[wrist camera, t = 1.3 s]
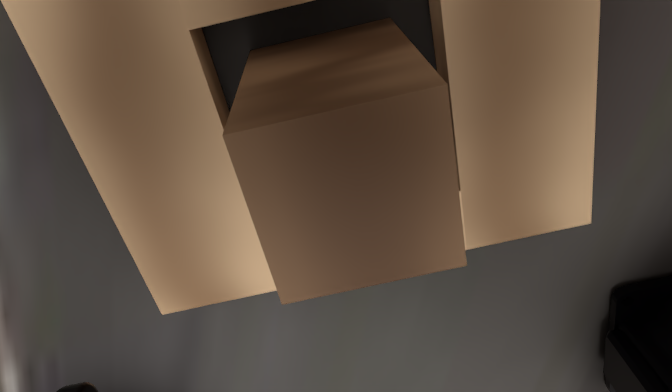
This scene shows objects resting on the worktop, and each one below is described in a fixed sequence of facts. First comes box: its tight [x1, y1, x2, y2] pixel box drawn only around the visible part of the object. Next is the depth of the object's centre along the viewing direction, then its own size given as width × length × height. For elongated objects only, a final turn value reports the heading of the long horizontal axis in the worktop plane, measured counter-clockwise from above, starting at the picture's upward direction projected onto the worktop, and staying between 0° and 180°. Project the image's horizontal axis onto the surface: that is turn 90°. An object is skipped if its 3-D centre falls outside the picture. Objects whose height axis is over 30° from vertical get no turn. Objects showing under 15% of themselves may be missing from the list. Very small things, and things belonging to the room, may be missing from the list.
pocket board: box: [1, 0, 600, 315], centre depth 16 cm, size 16×12×2 cm
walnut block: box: [222, 18, 467, 305], centre depth 14 cm, size 4×4×7 cm
